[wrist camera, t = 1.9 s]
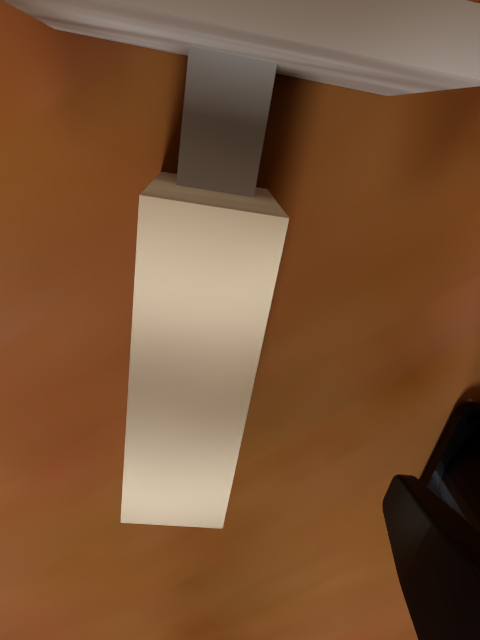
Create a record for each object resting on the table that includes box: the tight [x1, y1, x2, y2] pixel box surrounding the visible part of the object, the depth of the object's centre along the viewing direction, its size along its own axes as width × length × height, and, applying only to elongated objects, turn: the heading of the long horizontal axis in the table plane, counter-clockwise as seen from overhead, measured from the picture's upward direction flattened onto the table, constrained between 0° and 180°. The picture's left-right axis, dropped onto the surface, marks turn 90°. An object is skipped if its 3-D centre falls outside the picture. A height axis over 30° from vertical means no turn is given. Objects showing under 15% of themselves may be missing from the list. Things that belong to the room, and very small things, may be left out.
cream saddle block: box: [2, 0, 480, 528], centre depth 11 cm, size 14×9×5 cm, turn 171°
